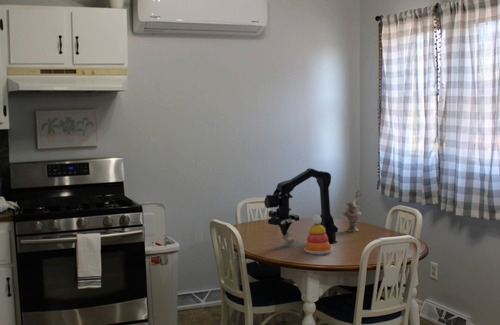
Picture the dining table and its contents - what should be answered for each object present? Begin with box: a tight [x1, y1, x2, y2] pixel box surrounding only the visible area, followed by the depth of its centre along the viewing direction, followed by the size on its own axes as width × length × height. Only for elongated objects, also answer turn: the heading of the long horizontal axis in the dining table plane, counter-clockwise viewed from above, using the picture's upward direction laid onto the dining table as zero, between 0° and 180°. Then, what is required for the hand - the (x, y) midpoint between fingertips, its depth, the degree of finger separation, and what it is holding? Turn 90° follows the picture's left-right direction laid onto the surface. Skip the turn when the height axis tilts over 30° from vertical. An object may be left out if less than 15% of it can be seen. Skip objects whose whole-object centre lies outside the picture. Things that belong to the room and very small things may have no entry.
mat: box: [272, 240, 307, 251], centre depth 297 cm, size 10×20×1 cm, turn 133°
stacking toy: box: [303, 214, 333, 256], centre depth 282 cm, size 14×14×20 cm
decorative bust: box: [342, 190, 363, 232], centre depth 334 cm, size 11×13×25 cm
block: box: [282, 230, 295, 248], centre depth 295 cm, size 5×4×8 cm
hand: (283, 235), depth 292 cm, fingers closed
